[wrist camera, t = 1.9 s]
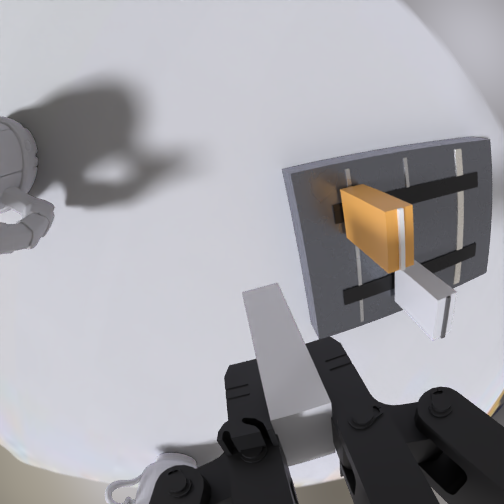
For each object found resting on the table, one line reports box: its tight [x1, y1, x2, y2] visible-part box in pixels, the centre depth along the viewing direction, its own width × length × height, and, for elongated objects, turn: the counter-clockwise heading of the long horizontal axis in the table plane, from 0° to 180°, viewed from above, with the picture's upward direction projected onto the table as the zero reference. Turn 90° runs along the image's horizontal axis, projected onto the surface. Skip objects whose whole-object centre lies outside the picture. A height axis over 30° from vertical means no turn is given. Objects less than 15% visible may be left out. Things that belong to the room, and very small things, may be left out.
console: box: [282, 137, 492, 339], centre depth 24 cm, size 14×20×3 cm
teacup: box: [105, 453, 198, 504], centre depth 29 cm, size 12×15×10 cm
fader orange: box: [340, 184, 414, 274], centre depth 18 cm, size 4×2×6 cm, turn 13°
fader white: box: [395, 260, 457, 341], centre depth 21 cm, size 4×2×6 cm, turn 13°
